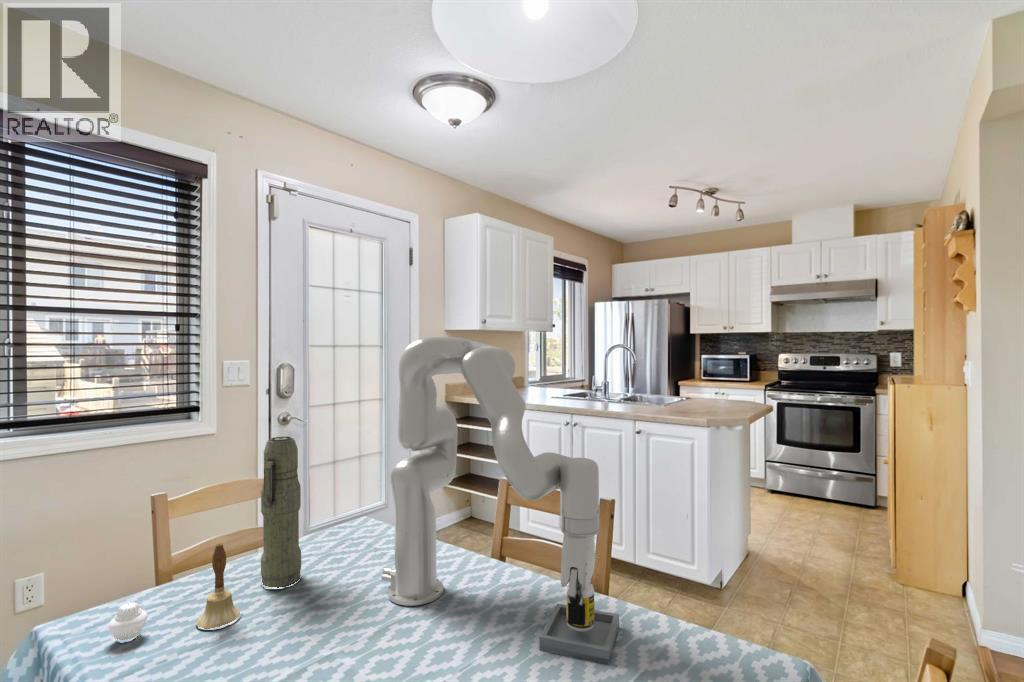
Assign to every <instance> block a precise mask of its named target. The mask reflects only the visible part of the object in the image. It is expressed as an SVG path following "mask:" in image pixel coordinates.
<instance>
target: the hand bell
mask: <svg viewBox="0 0 1024 682" xmlns="http://www.w3.org/2000/svg"><path fill="white" fill-rule="evenodd" d="M211 564H212V565H211V566H212V570H213V573H214V578H215V579H214V592H212V593H210V594H209V595H208V596H207V598H206V604H205V608H204V612H203V613H202V615H201V616H200V617H199V618H198V619H197V622H196V623H197V626H199V627H202V628H204V629H210V628H215V627H220V626H222V625H225V624H228V623H230V622H232V621H234V620H235V619H236V618H237V617H239V615H240V612H241V611H240V610H239V609H238V608H237V607H236V606H235V605H234V601H233V595H232V592H231V591H230V590H227V589H225V583H224V582H225V581H224V580H225V579H224V573H225V569H226V566H227V552H226V550H225V548H224V545H223V543H217V544H216V545H215V547H214V552H213V554H212V558H211Z"/></svg>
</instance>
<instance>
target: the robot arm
mask: <svg viewBox="0 0 1024 682" xmlns="http://www.w3.org/2000/svg"><path fill="white" fill-rule="evenodd" d="M515 372H516V361H515V360H514V358H513V356H512V355H511V354H510V352H509V351H507V350H506V349H504V348H503V347H498V346H493V345H491V344H486V343H483V342H479V341H475V340H471V339H468V338H463V337H450V336H449V337H445V336H430V337H422V338H420V339H417V340H415V341H412V342H411V343H410V344H408V345H407V346H406V347H405V349H404V350H403V351H402V352H401V356H400V358H399V362H398V378H399V401H398V402H399V403H398V423H397V424H398V425H397V426H398V427H397V433H398V434H397V438H398V441H399V444H400V446H401V447H402V448H403V449H404V450H406V451H408V452H419V451H423V452H420V453H416V454H414V455H411V456H408V457H406V458H403V459H401V460H400V461H398V462H397V463H396V464H395V465H394V466H393V468H392V470H391V472H390V474H389V486H390V492H391V497H392V502H393V503H392V504H393V512H394V513H393V514H394V515H393V517H394V518H393V519H394V523H393V525H394V569H393V568H390V567H385V568H384V569H383V571H382V575H381V581H384V582H389V583H390V586H389V587H388V590H387V597H388V599H389V600H390V601H391V602H393V603H394V604H397V605H398V606H399V605H400V606H405V607H406V606H407V607H410V606H421V605H425V604H426V605H427V604H429V603H431V602H434V601H435V600H437V599H439V598H440V597H441V595H442V594H443V592H444V584H443V582H442V581H441V580H440V579H439V578H437V514H436V509H435V506H434V503H433V501H432V498H431V494H432V493H434V492H435V491H438V490H440V489H442V488H445V487H446V486H448V485H449V484H450V483H451V482H452V481H453V479H454V477H455V475H456V472H457V471H456V470H457V457H458V456H457V455H458V454H457V452H458V436H459V435H458V431H459V430H458V423H457V420H456V417H455V415H454V414H453V412H452V411H451V410H450V409H449V408H448V407H446V406H442V405H437V398H438V393H437V392H438V391H437V387H436V386H437V385H436V384H435V381H434V379H433V376H437V375H448V374H462V376H463V379H464V380H465V382H466V383H467V385H468V387H469V388H470V390H471V392H472V394H473V395H474V397H475V399H476V401H477V402H478V404H479V406H480V408H481V409H482V410H483V413H484V415H485V416H486V419H487V420H488V422H489V423H490V426H491V441H492V446H493V452H494V455H495V458H496V460H497V463H498V465H499V468H500V470H502V473H503V474H504V476H505V478H506V480H507V482H508V483H509V485H510V486H511V488H512V489H513V490H514V491H515V492H516V494H517V495H518V496H520V497H522V499H524V500H528V501H537V500H540V499H542V498H544V497H545V496H547V495H549V494H550V493H551V492H555V491H557V490H559V491H560V493H559V494H560V496H559V499H560V506H559V507H560V513H559V514H560V520H559V521H560V524H559V525H560V527H559V528H560V532H561V533H563V538H562V544H561V545H562V547H561V562H560V563H561V564H560V565H561V568H560V570H561V571H560V572H561V573H560V585H561V587H563V588H565V587H567V586H568V584H569V589H568V622H569V623H570V624H576V625H581V626H584V625H585V604H584V603H583V601H584V589H586V588H587V586H588V584H589V582H590V578H591V579H592V577H593V575H594V572H595V566H596V565H595V564H596V545H595V542H596V541H595V536H597V535H598V534H599V533H600V477H599V476H600V475H599V474H600V471H599V464H598V463H597V462H596V461H595V460H594V459H591V458H586V457H570V456H566V455H563V454H559V453H556V452H552V451H551V452H550V451H549V452H548V451H547V452H542V453H540V454H538V455H536V456H534V455H533V453H532V451H531V449H530V447H529V446H528V444H527V442H526V440H525V436H524V433H523V420H524V419H523V418H524V414H525V412H526V405H527V404H526V401H525V400H524V399H523V397H522V395H521V394H520V393H521V392H519V390H518V389H517V387H516V386H515V383H514V382H513V380H512V378H513V377H514V375H515ZM577 583H580V584H581V586H577ZM590 584H591V585H592V582H591V583H590ZM576 590H579V591H580V596H579V594H577V592H576Z"/></svg>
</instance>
